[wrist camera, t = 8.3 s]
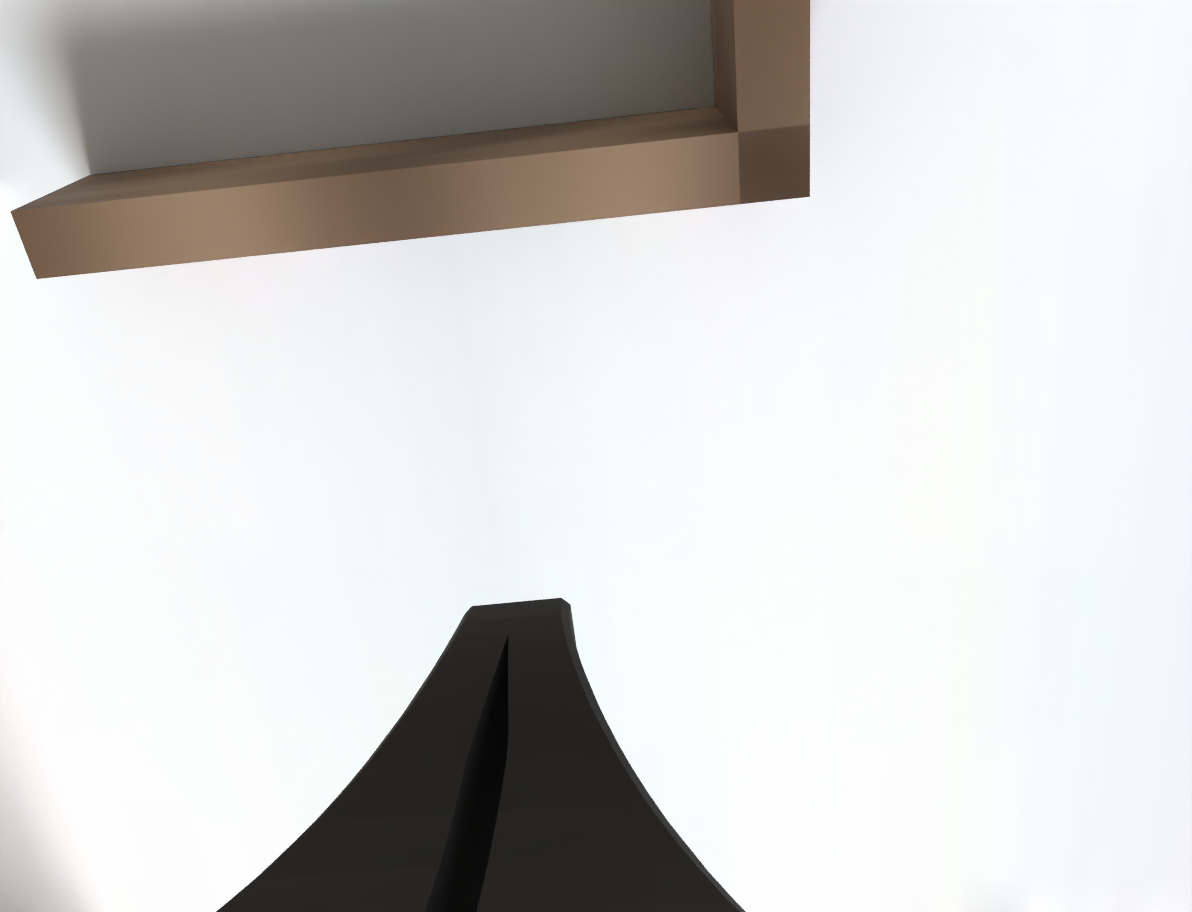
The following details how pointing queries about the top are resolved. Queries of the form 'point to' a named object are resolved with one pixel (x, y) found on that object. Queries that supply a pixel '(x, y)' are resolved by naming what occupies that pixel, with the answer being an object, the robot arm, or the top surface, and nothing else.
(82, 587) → the top surface
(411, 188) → the walnut box
